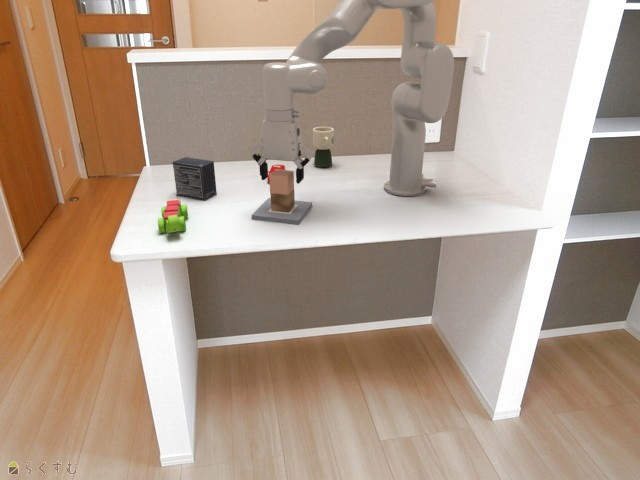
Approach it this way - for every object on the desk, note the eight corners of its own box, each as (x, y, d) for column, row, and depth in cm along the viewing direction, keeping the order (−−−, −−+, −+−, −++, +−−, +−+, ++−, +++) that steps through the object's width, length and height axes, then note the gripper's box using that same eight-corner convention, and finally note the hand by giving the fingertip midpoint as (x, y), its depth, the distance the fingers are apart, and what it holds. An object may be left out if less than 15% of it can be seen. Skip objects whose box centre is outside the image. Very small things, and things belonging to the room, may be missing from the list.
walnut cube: (294, 205, 137) (294, 188, 135) (288, 212, 132) (288, 195, 130) (277, 204, 138) (276, 187, 136) (271, 210, 134) (270, 193, 131)
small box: (218, 194, 148) (215, 160, 144) (205, 201, 143) (201, 166, 139) (189, 189, 152) (185, 155, 148) (175, 195, 147) (171, 161, 143)
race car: (283, 186, 156) (282, 174, 154) (266, 186, 156) (265, 173, 154) (287, 172, 167) (287, 161, 166) (271, 172, 168) (271, 160, 166)
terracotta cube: (294, 188, 135) (293, 170, 132) (288, 194, 130) (287, 176, 128) (276, 186, 136) (276, 169, 134) (270, 193, 132) (269, 175, 129)
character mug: (337, 170, 169) (337, 132, 163) (316, 171, 168) (316, 133, 162) (328, 160, 179) (329, 124, 173) (309, 162, 177) (309, 125, 171)
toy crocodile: (164, 211, 137) (161, 190, 134) (189, 209, 138) (186, 188, 135) (157, 242, 120) (153, 219, 117) (186, 240, 121) (182, 217, 118)
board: (312, 206, 140) (312, 201, 139) (298, 224, 129) (298, 220, 128) (268, 201, 143) (268, 197, 142) (251, 219, 132) (251, 214, 131)
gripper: (317, 114, 125) (317, 178, 133) (253, 110, 129) (256, 173, 137) (308, 120, 119) (309, 188, 126) (241, 116, 123) (246, 181, 130)
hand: (281, 180), depth 132 cm, fingers open, 9 cm apart
